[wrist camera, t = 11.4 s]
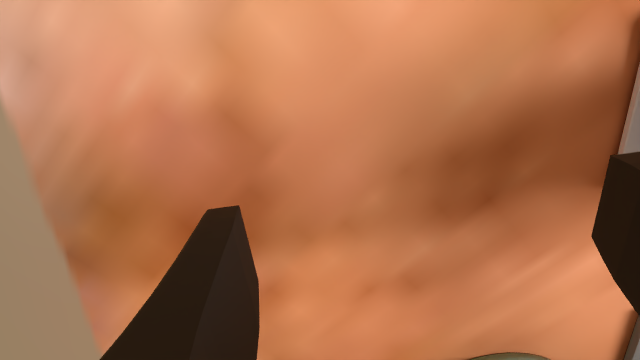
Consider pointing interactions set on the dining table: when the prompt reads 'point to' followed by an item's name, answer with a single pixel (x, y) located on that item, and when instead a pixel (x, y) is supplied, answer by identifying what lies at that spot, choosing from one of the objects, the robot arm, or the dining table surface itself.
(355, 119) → the dining table surface
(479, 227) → the dining table surface
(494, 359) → the bowl
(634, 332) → the mat
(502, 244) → the dining table surface
